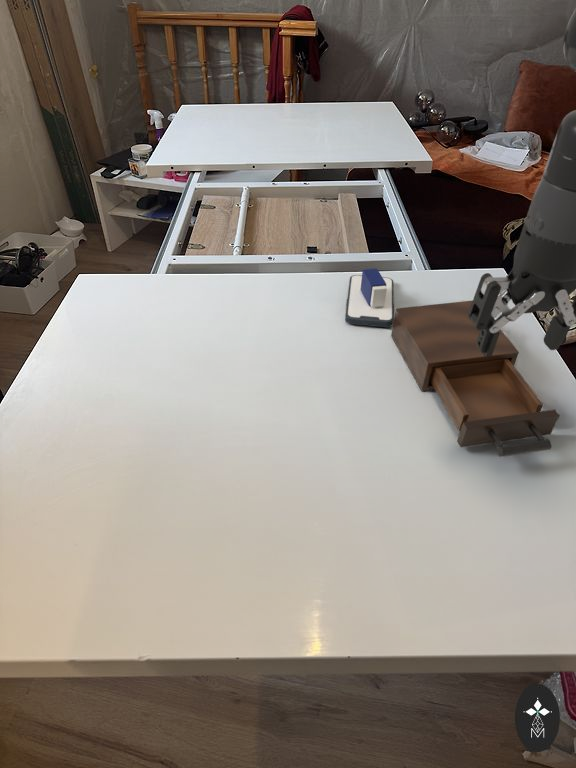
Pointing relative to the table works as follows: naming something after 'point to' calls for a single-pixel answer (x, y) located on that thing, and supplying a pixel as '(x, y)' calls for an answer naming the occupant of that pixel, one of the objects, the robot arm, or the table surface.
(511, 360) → the cabinet
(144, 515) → the table surface
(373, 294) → the eraser
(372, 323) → the phone case
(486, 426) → the drawer
